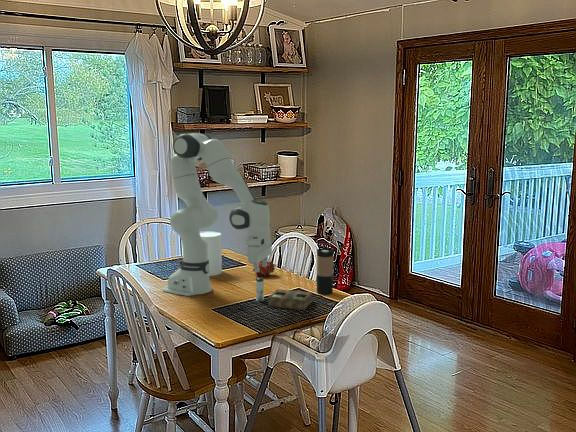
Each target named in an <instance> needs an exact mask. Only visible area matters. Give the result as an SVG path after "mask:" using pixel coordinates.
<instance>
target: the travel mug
mask: <svg viewBox="0 0 576 432" xmlns="http://www.w3.org/2000/svg"><path fill="white" fill-rule="evenodd" d="M334 254H335V253H334V249H332V248H328V247H321V248H317V250H316V293H317V294H318V295H321V296H329V295H332V294H333V290H334V287H333V286H334V260H335V259H334V258H335V257H334Z"/></svg>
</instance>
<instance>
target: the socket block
mask: <svg viewBox="0 0 576 432" xmlns="http://www.w3.org/2000/svg"><path fill="white" fill-rule="evenodd" d="M267 298H268V299H267V300H268V301H267V303H268V304H267V305H268V306H267V307H271V308H280V309H281V308H282V309H289V310H290V309H291V310H303V311H305V310H307V308H308V307H309V306H310V304H311V303H312V302H313V292H312V291H311V292H310V291H302V290H301V291H299V290H288V289H278V288H276V290H274V292H273V293H271V294H270V295H269V296H268V297H267Z"/></svg>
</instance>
